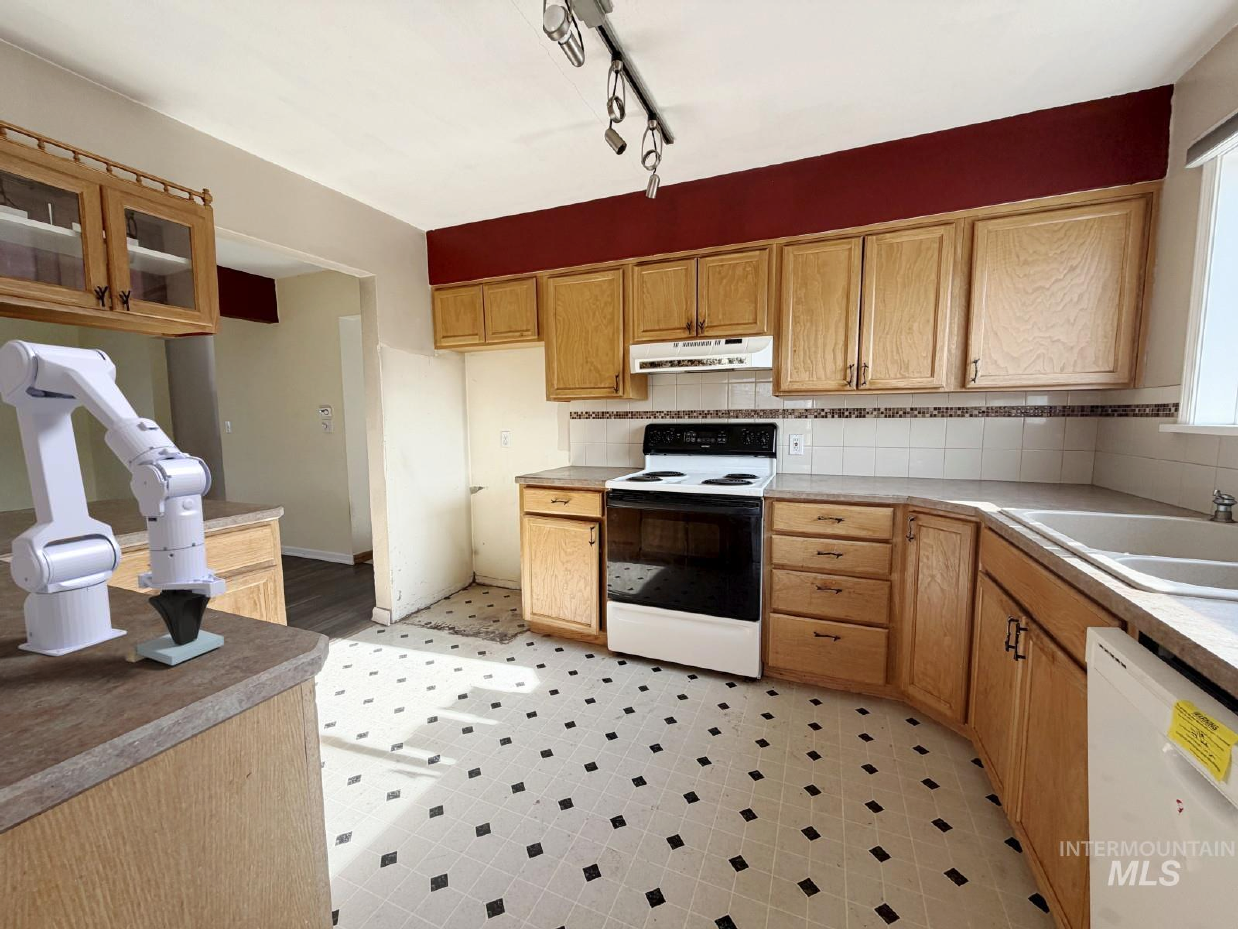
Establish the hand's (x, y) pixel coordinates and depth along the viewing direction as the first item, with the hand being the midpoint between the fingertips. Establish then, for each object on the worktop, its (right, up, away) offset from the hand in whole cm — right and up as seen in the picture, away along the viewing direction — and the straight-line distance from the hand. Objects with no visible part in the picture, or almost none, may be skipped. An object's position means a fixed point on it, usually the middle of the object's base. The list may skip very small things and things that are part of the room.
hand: (186, 641), depth 68 cm
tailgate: (-4, 0, +1) cm, 5 cm away
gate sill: (-5, -2, +2) cm, 6 cm away
